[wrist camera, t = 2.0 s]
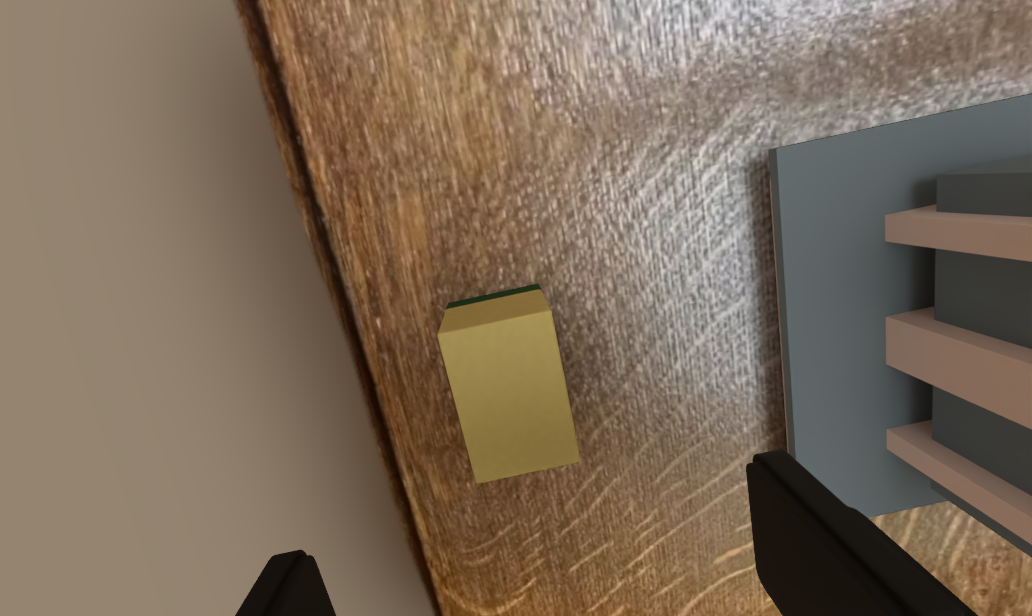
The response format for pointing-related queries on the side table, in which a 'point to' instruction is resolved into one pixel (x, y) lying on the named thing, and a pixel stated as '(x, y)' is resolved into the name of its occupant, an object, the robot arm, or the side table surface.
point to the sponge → (508, 383)
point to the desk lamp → (911, 312)
